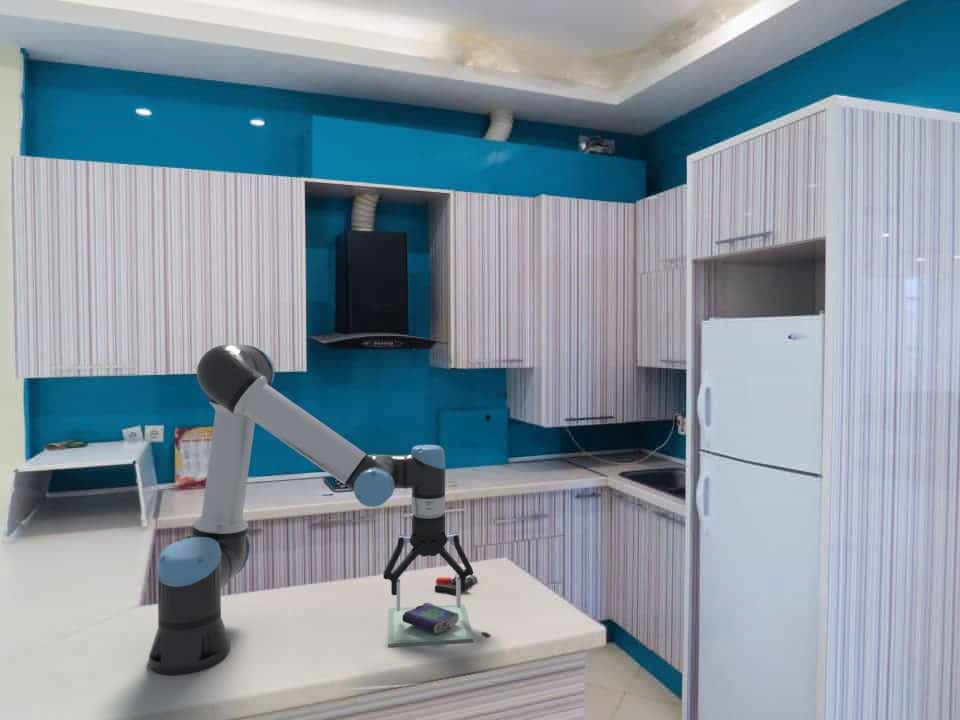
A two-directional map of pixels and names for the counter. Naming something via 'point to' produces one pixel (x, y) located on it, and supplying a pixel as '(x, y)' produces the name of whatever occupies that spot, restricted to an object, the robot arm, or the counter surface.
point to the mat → (414, 635)
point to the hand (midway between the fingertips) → (428, 607)
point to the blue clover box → (431, 618)
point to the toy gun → (452, 584)
